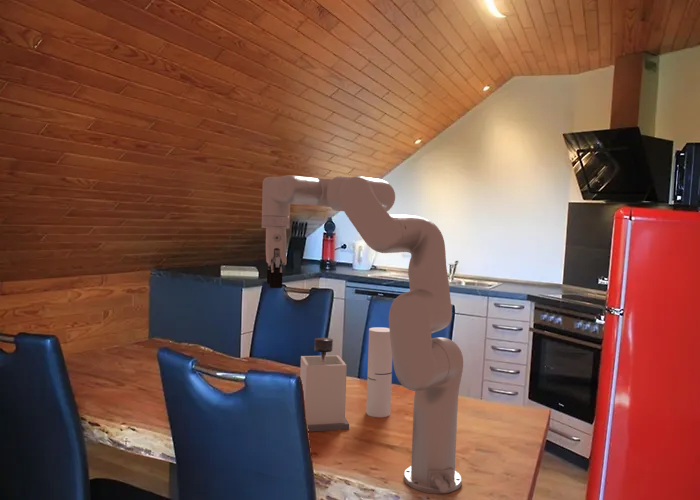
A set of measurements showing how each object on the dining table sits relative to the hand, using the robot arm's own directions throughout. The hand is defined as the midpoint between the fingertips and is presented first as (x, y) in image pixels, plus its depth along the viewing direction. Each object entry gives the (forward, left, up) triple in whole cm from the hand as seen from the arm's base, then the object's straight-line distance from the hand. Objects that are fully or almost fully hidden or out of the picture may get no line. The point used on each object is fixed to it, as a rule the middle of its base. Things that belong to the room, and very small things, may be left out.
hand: (274, 285), depth 154 cm
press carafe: (-1, -14, -38) cm, 41 cm away
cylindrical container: (+4, -32, -38) cm, 50 cm away
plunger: (-1, -14, -36) cm, 39 cm away
